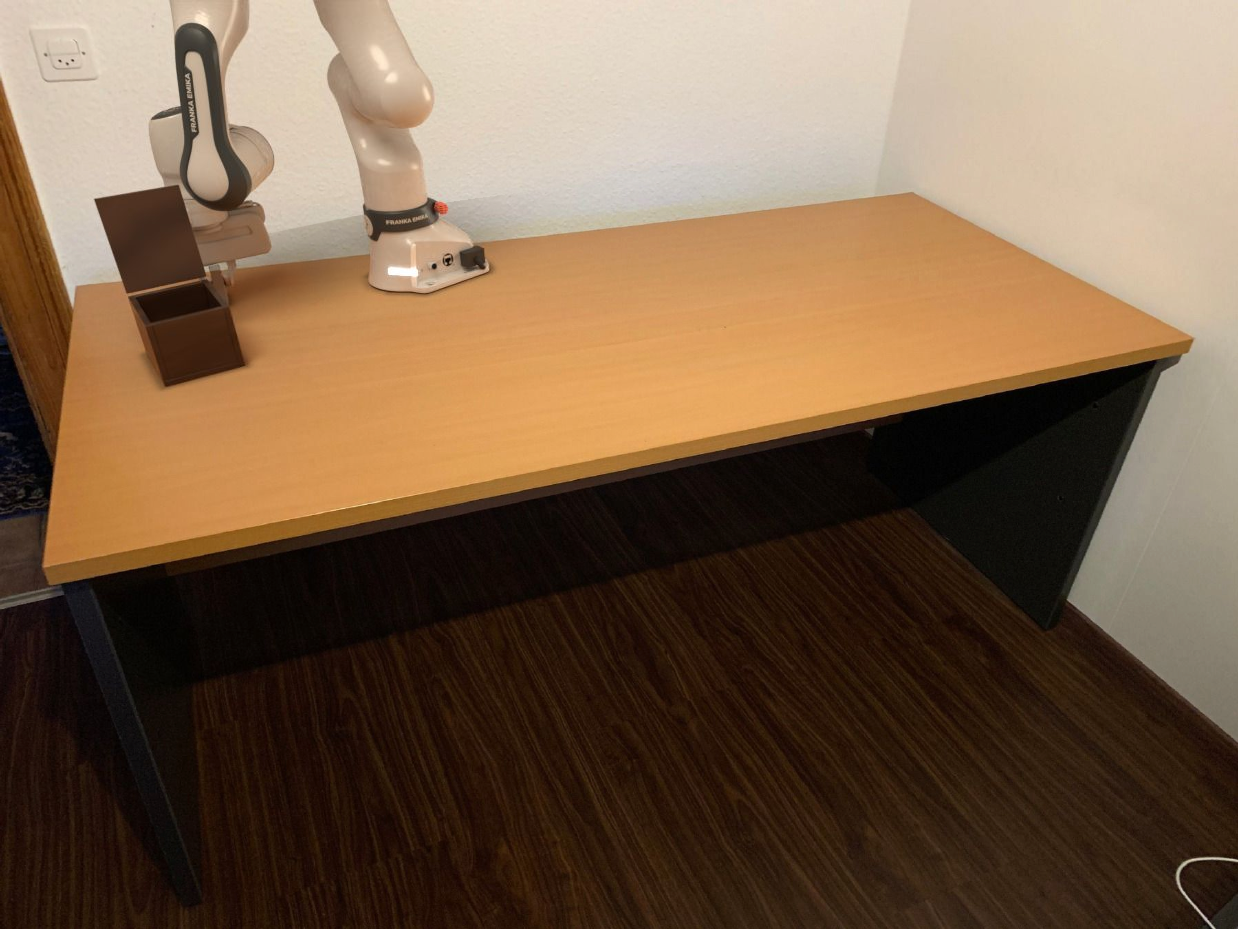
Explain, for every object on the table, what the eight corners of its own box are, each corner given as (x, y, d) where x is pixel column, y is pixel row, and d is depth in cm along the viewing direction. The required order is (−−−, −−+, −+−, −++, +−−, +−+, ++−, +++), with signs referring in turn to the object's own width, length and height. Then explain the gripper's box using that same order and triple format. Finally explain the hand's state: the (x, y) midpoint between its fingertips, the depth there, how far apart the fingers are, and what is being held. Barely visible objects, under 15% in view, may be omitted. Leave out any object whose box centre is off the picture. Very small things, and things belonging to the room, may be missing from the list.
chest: (245, 365, 142) (229, 306, 137) (165, 387, 137) (145, 326, 131) (222, 335, 151) (207, 278, 146) (146, 354, 146) (127, 296, 141)
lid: (178, 184, 139) (173, 182, 143) (94, 198, 134) (90, 196, 138) (206, 276, 145) (200, 272, 149) (126, 293, 140) (122, 288, 144)
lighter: (216, 297, 165) (205, 254, 160) (226, 295, 166) (215, 253, 161) (221, 311, 160) (208, 268, 155) (231, 310, 160) (219, 266, 156)
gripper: (255, 193, 160) (273, 268, 168) (130, 216, 151) (154, 294, 158) (266, 202, 156) (283, 279, 163) (137, 226, 146) (162, 306, 154)
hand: (219, 287), depth 161 cm, fingers closed on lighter, 2 cm apart
